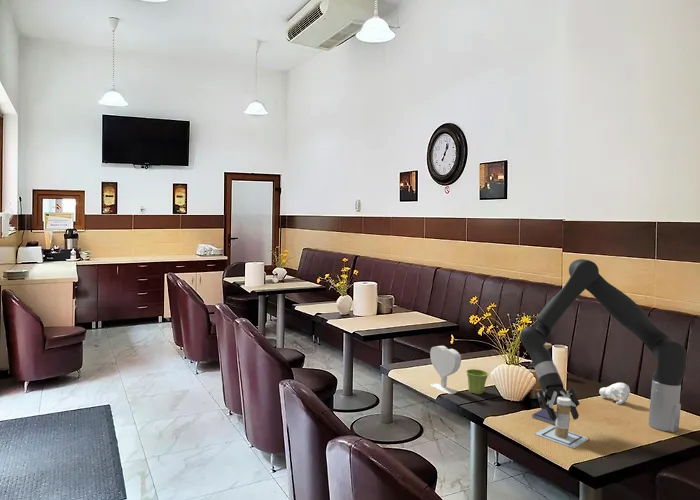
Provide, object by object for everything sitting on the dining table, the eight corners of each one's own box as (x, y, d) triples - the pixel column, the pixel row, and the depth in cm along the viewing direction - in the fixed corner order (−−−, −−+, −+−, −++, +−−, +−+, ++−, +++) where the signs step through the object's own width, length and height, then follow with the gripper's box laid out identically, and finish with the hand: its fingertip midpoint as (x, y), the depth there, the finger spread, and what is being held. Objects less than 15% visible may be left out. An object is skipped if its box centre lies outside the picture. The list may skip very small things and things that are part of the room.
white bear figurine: (624, 385, 218) (595, 380, 227) (624, 406, 218) (596, 400, 227) (631, 383, 221) (603, 377, 231) (632, 403, 221) (603, 397, 231)
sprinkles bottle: (557, 431, 189) (560, 395, 188) (570, 435, 186) (573, 398, 185) (552, 435, 186) (555, 398, 185) (565, 439, 183) (568, 401, 181)
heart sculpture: (460, 393, 226) (463, 351, 225) (451, 395, 223) (454, 353, 222) (435, 382, 239) (437, 343, 238) (427, 384, 236) (429, 344, 235)
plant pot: (479, 387, 234) (480, 368, 234) (491, 395, 225) (492, 375, 225) (460, 389, 231) (462, 369, 231) (472, 396, 222) (473, 376, 222)
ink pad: (566, 418, 203) (567, 414, 202) (554, 425, 196) (554, 421, 196) (544, 411, 209) (544, 407, 209) (531, 417, 202) (532, 413, 202)
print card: (589, 439, 185) (589, 438, 184) (574, 448, 176) (574, 447, 176) (550, 425, 195) (550, 424, 195) (534, 434, 186) (534, 433, 186)
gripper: (535, 372, 189) (552, 415, 179) (570, 371, 193) (589, 413, 183) (526, 381, 195) (542, 424, 185) (560, 380, 198) (578, 422, 188)
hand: (565, 419), depth 184 cm, fingers open, 8 cm apart
